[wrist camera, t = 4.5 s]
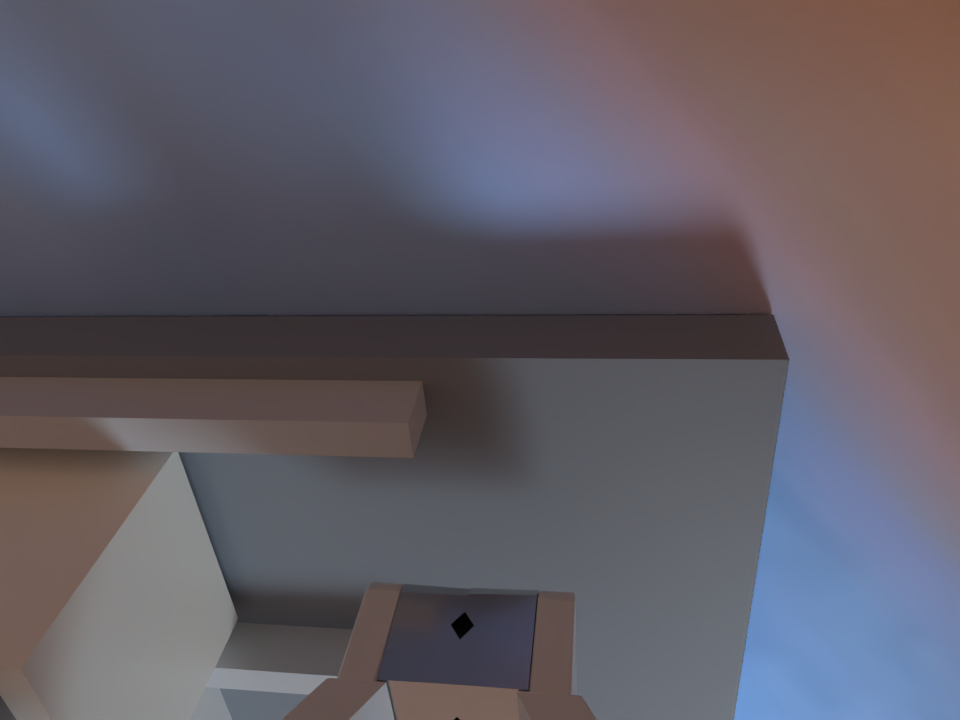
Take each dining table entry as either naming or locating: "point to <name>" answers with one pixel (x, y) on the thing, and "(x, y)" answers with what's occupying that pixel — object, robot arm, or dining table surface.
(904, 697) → the dining table surface
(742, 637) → the panel
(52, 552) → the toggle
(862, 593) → the dining table surface
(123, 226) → the dining table surface
